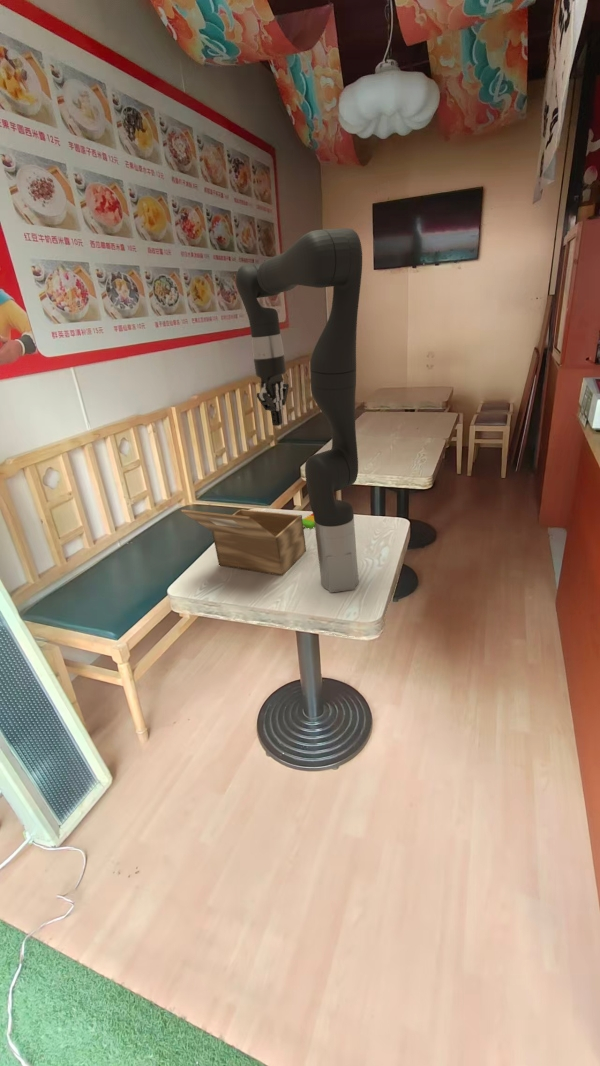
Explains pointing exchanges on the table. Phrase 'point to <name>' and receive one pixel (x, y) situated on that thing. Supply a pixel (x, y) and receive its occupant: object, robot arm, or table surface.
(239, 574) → the table surface
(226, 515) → the flap
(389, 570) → the table surface
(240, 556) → the brown wooden box
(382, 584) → the table surface
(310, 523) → the popsicle
